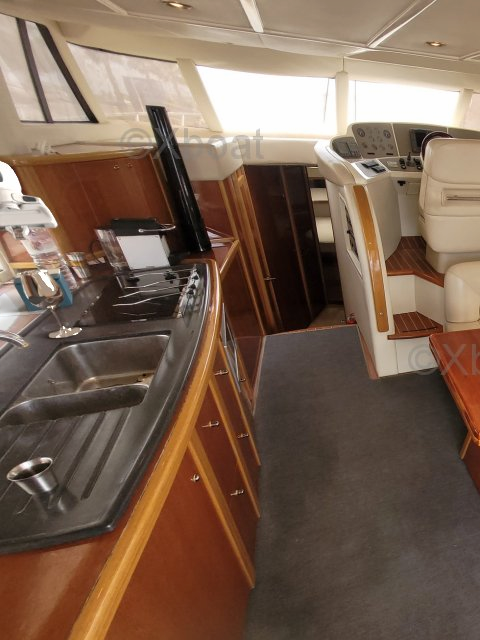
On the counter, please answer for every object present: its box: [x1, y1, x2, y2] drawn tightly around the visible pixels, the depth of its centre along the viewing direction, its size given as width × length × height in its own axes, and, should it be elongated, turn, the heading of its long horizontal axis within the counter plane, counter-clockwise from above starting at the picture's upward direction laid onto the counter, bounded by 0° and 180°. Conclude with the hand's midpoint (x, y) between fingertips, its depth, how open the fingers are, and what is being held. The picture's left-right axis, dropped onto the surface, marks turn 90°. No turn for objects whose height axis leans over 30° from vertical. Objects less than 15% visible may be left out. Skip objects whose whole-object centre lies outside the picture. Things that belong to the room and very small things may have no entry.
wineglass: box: [19, 268, 82, 339], centre depth 118 cm, size 8×8×20 cm
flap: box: [15, 268, 61, 278], centre depth 139 cm, size 6×11×1 cm, turn 131°
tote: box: [12, 269, 73, 312], centre depth 140 cm, size 13×11×10 cm
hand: (21, 239), depth 134 cm, fingers closed
